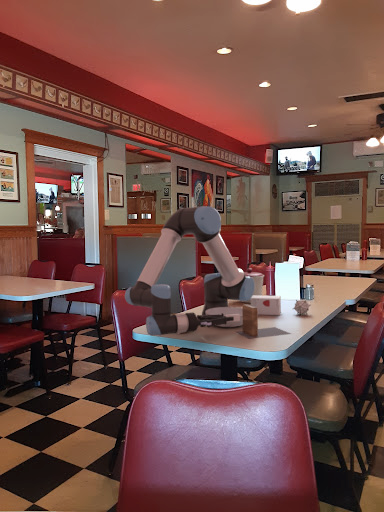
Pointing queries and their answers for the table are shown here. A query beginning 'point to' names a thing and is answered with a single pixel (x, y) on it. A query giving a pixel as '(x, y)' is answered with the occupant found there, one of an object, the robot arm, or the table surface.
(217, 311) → the serving bowl
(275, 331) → the rubber mat
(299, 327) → the table surface
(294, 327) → the table surface
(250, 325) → the wooden block
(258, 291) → the canister
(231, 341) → the table surface
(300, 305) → the game die
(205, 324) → the robot arm
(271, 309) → the supplement box
